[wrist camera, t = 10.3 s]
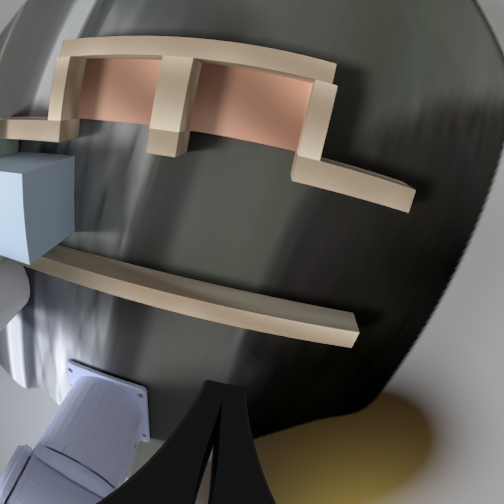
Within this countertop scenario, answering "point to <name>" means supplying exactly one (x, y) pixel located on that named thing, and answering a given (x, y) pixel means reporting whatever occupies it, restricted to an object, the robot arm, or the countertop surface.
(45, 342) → the countertop surface
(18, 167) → the block
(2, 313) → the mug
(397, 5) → the countertop surface
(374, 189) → the beige flat frame
